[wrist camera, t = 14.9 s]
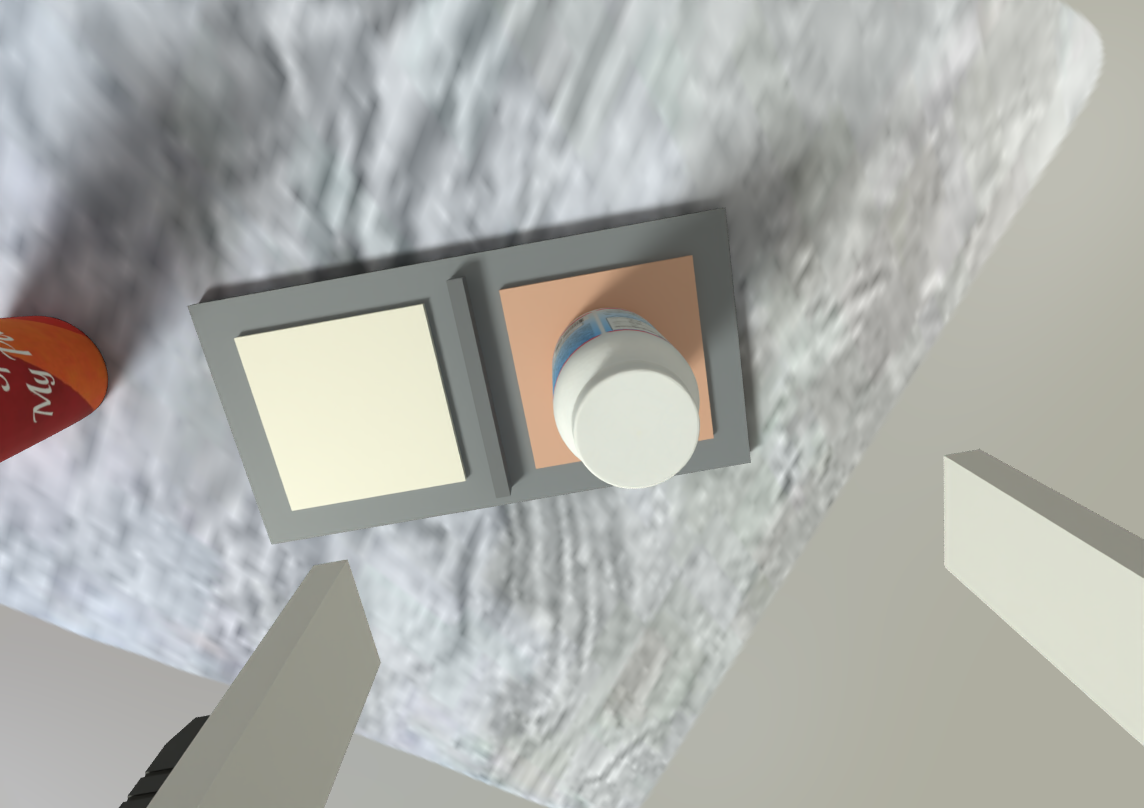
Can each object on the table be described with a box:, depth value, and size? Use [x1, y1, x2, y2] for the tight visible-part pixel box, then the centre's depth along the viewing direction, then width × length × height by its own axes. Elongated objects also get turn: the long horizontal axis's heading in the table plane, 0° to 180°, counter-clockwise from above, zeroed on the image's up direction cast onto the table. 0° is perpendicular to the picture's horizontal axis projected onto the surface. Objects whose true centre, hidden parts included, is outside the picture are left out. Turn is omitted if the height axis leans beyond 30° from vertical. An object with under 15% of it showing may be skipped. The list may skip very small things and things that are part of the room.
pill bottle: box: [552, 308, 700, 489], centre depth 28 cm, size 6×6×11 cm
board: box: [188, 208, 751, 544], centre depth 34 cm, size 14×28×2 cm, turn 100°
